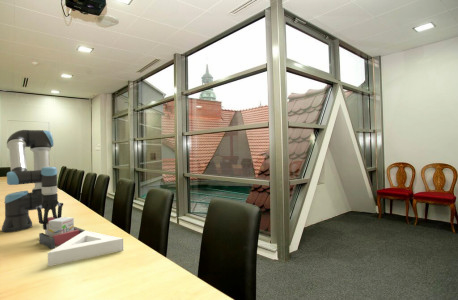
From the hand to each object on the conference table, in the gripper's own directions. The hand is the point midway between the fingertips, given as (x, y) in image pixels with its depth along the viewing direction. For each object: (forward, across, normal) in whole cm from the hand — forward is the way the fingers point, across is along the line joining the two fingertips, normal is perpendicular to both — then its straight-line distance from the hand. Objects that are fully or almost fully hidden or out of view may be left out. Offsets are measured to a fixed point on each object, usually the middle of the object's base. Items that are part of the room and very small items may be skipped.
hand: (50, 233), depth 148 cm
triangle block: (+2, +2, -39) cm, 39 cm away
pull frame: (+1, 0, -10) cm, 10 cm away
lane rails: (+1, 0, -17) cm, 17 cm away
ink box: (+1, 0, -15) cm, 15 cm away
